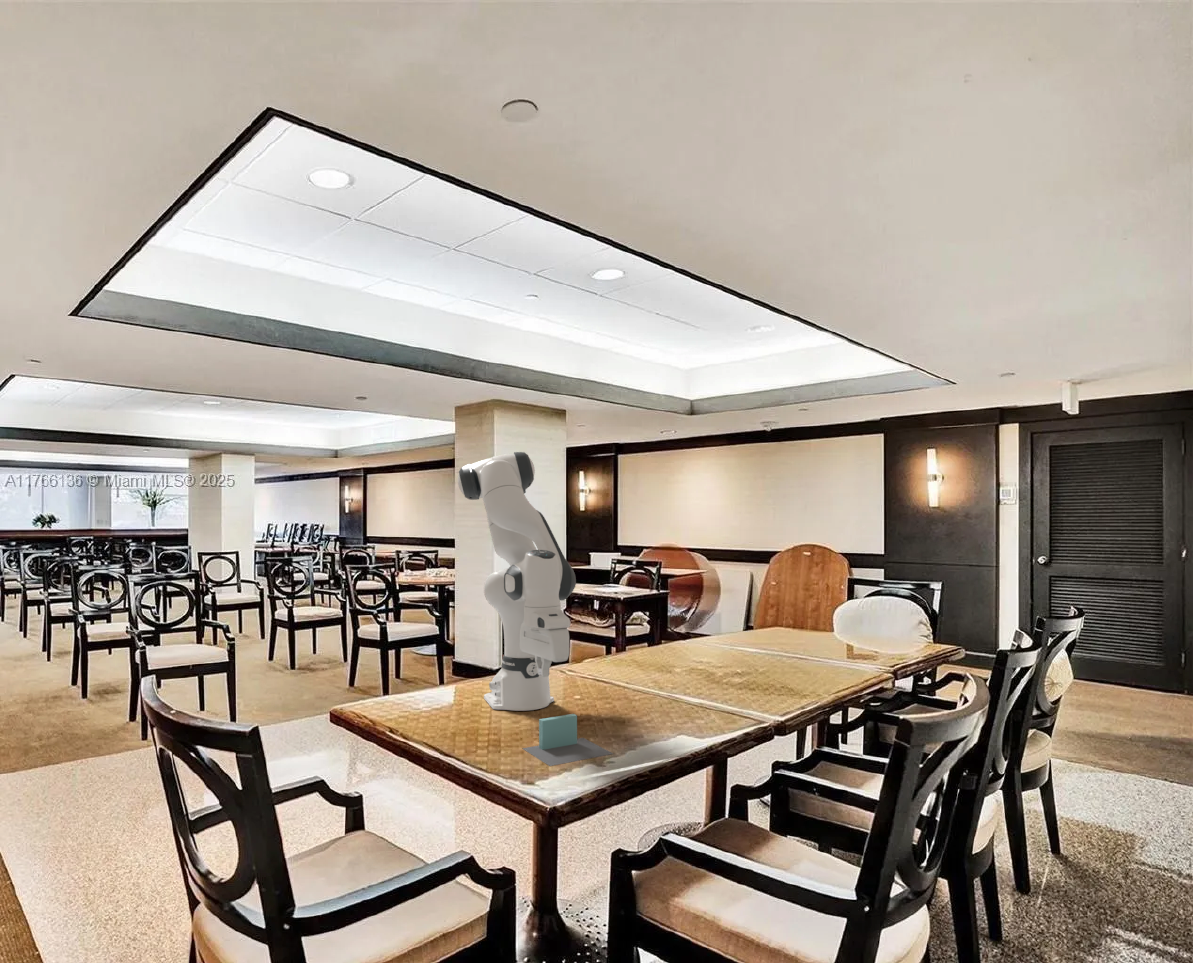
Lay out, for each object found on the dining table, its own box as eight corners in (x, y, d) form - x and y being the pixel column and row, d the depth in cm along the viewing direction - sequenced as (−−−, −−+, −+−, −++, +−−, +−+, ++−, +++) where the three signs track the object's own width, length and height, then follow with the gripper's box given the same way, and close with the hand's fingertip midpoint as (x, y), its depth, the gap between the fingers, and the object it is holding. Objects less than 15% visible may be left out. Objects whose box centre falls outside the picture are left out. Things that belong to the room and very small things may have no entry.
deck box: (538, 747, 174) (538, 719, 175) (573, 741, 179) (573, 713, 179) (542, 749, 173) (542, 721, 173) (577, 743, 177) (576, 715, 178)
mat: (522, 751, 174) (522, 748, 174) (583, 740, 182) (583, 737, 182) (549, 768, 162) (549, 766, 162) (613, 756, 170) (613, 753, 170)
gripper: (513, 614, 191) (513, 670, 190) (549, 623, 173) (550, 684, 173) (535, 612, 194) (536, 667, 193) (573, 620, 177) (574, 681, 176)
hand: (543, 675), depth 183 cm, fingers closed
